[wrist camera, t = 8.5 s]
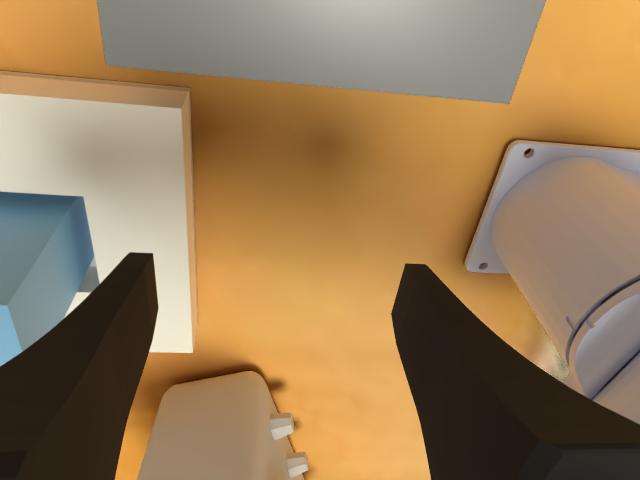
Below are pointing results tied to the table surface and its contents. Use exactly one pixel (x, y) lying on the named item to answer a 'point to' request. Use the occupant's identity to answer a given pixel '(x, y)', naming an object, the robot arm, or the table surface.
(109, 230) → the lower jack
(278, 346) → the table surface
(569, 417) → the robot arm
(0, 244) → the plug
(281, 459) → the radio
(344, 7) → the grey square socket block
